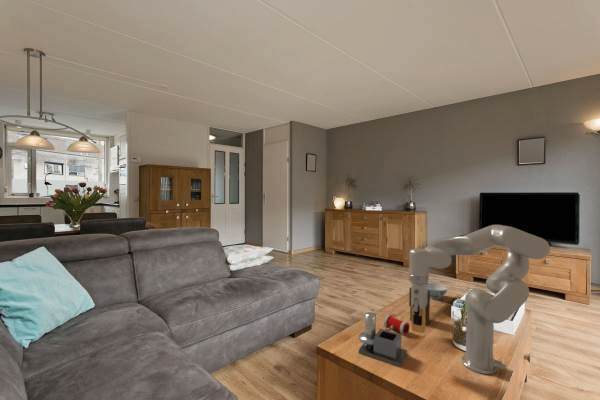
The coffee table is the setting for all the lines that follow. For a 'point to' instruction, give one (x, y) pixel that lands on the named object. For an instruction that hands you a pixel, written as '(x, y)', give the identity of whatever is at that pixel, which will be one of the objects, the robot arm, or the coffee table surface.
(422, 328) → the orange rectangular block
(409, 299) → the canister
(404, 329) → the toy hammer
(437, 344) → the coffee table surface
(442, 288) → the chinaware
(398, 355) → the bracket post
